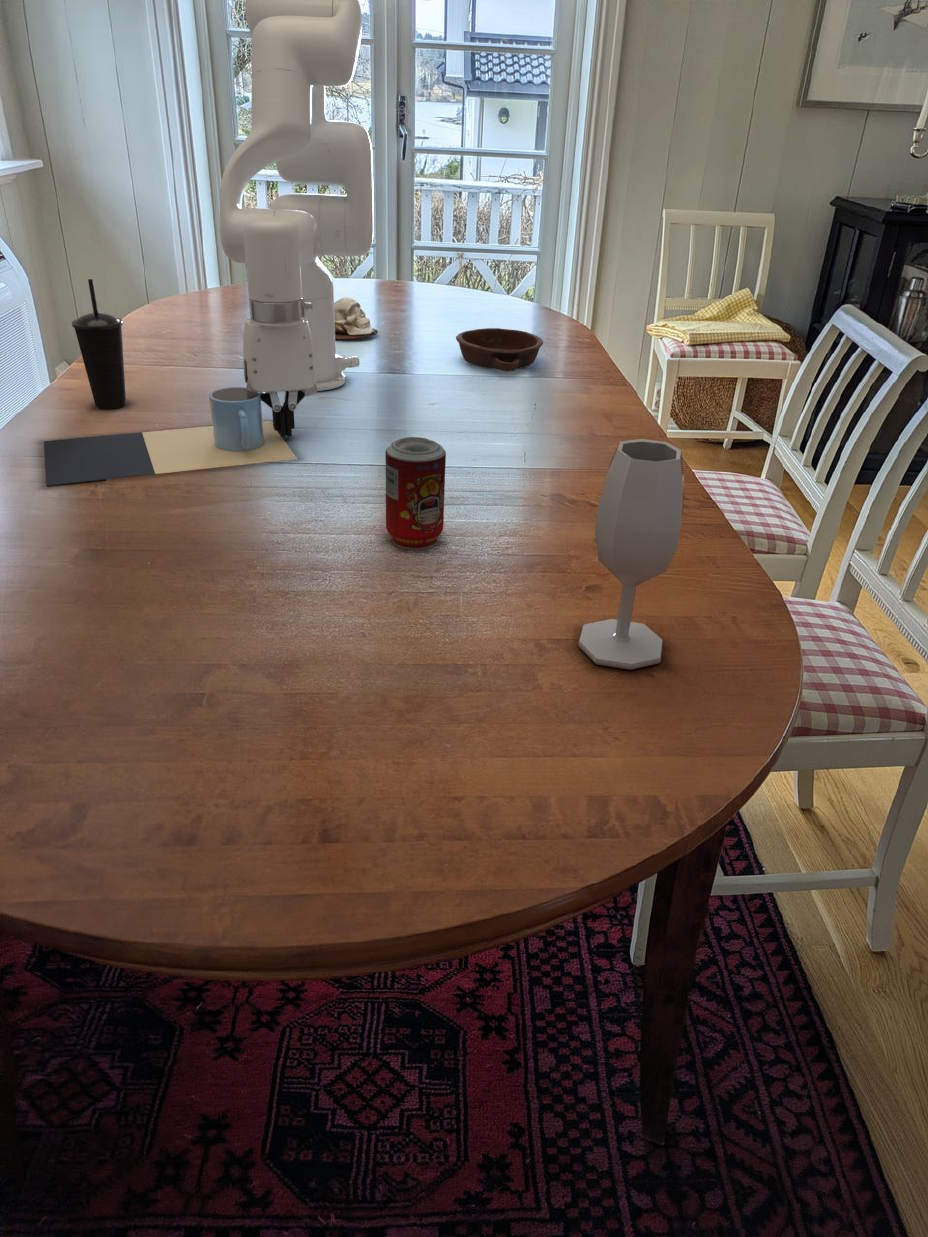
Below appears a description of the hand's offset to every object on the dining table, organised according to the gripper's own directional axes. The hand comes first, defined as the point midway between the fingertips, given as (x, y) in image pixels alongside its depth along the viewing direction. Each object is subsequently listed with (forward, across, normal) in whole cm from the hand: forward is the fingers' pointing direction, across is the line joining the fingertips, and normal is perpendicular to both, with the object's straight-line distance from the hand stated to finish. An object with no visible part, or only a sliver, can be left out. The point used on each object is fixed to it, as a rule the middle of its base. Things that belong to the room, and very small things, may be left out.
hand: (284, 433), depth 140 cm
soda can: (+1, -7, +40) cm, 40 cm away
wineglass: (+1, -17, +70) cm, 72 cm away
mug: (+1, +7, +1) cm, 7 cm away
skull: (+1, -29, -61) cm, 68 cm away
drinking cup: (+1, +23, -25) cm, 34 cm away
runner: (+1, +17, 0) cm, 17 cm away
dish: (+1, -51, -32) cm, 60 cm away
